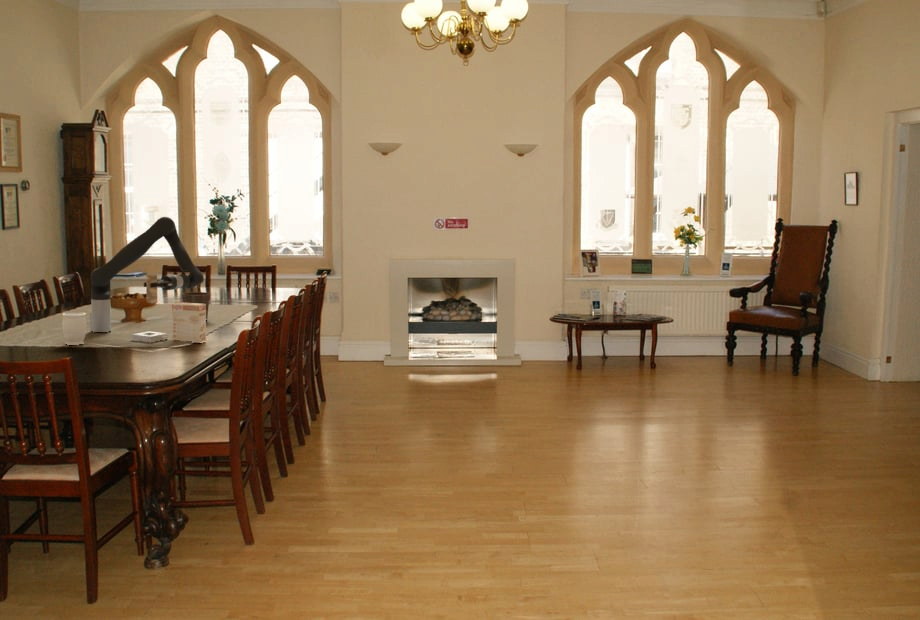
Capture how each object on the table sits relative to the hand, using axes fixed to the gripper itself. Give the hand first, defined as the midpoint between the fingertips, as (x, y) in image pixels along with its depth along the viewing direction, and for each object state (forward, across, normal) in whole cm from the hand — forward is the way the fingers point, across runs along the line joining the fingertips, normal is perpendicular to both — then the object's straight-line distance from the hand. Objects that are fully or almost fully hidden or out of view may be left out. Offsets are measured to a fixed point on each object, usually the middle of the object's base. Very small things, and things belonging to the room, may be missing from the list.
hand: (147, 285), depth 438 cm
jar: (+27, -20, +28) cm, 44 cm away
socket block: (+2, +3, +28) cm, 28 cm away
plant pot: (-65, -25, +28) cm, 75 cm away
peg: (-3, 0, +9) cm, 9 cm away
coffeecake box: (-8, +19, +28) cm, 35 cm away
